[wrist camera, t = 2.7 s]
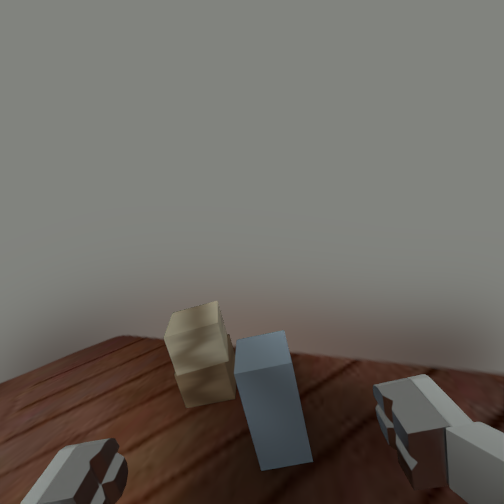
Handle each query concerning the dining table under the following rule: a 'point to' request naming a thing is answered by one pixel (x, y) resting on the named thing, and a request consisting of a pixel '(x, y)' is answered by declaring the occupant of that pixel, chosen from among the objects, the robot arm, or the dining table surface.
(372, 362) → the dining table surface
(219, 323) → the tower top
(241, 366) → the pillar
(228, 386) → the tower base
